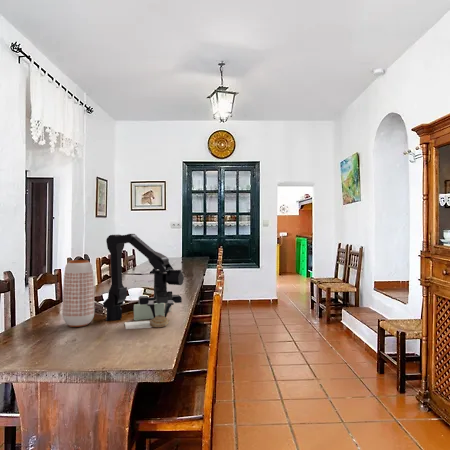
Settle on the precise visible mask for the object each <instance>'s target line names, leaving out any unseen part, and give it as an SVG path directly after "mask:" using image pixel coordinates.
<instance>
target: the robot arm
mask: <svg viewBox="0 0 450 450" xmlns="http://www.w3.org/2000/svg"><path fill="white" fill-rule="evenodd" d="M105 241H106V247H107V250H108V252H109V253H110V272H111V273H110V276H111V277H110V280H111V285H110V287H109V289H108V293H107V294H108V295H107V298H106V299H105V300H104V302H103V303H102V305H103V308H104V309H105V308H106V318H105V321H106V322H112V321H121V320H122V318H123V316H122V315H123V308H121V306H122V305H124V303H125V300H127V297H128V287H127V286H124V285H123V269H122V268H123V267H122V264H123V263H122V253H123V250H124V248H125V244H130V245H131V246H133V247H134V248H135V249H136V250H138V252H139V253H141V254H142V255H143V256H144V257H146V258H147V260H148V262H149V264H150V265H151V267H153V268H152V270H151V271H150V272H149V274H150V275H151V274H152V275H153V297H149V296H148V295H139V296H138V304H140V305H143V304H147V306H150V308H151V310H152V314H153V317H154V318H155V308H154V303H158V304H160V303H164V304H165V313H164V317H166V318H167V316H168V313H169V312H168V310H169V308H170V306H171V307H172V306H174V303H175V304H177V303H178V304H181V303H182V302H183V299H182V296H181V295H180V294H173V291H172V290H171V291H168V287H167V286H168V285H169V286H171V285H172V286H182V285H183V283H184V279H185V278H184V277H185V276H184V274H183V272H182V269H174V268H173V266H172V264H171V263H170V262H169V258H168V256H167V255H164V254H162V253H160V252H158V251H156V250H155V249H153V248H152V247H151V246H149V245H148V244H147V243H146V242H144V241H143V239H141V238H140V237H138V235H137V234H135V233H128V234H110V235H108V236H107V237H106V240H105Z"/></svg>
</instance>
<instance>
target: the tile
mask: <svg viewBox="0 0 450 450" xmlns="http://www.w3.org/2000/svg"><path fill="white" fill-rule="evenodd" d="M150 321H151V320H139V321H127V322H126V321H125V322H124V327H125V330H134V329H135V330H136V329H150V328H151V329H152V328H153V326H151V325H150Z"/></svg>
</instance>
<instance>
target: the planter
mask: <svg viewBox="0 0 450 450" xmlns="http://www.w3.org/2000/svg"><path fill="white" fill-rule="evenodd" d="M63 276H64V277H63V286H62V287H63V288H62V311H61V314H62V319H63V321H64V323H65V324H66V325H67V326H68V327H71V328H79V327H81V328H82V327H86V326H88V325H89V324H90V323H91V321H93V319H94V317H95V286H94V281H95V280H94V271H93V264H92V263H91V262H90V261H89V260H88V259H75V260H74V259H73V260H69V261H68V262H67V263H66V265H65V267H64V275H63Z"/></svg>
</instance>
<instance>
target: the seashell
mask: <svg viewBox="0 0 450 450" xmlns="http://www.w3.org/2000/svg"><path fill="white" fill-rule="evenodd" d="M149 321H150V325H151V326H152V328H163V327H166V326H167V325H168V324H169V322H170V319H168V318H167V316H166V317H164V316H162V315H158V316H156V317H155V318H154V319H150V320H149Z"/></svg>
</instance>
